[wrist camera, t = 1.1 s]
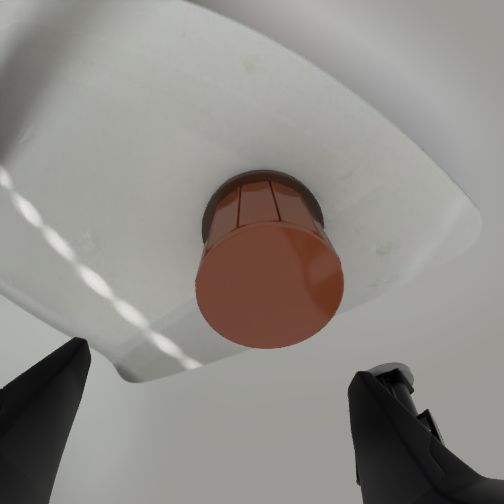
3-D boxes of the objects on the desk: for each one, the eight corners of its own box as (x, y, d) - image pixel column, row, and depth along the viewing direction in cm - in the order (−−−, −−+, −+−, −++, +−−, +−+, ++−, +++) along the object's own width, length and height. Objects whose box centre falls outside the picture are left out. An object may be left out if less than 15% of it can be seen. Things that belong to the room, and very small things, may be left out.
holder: (343, 235, 21) (370, 279, 16) (254, 297, 24) (256, 352, 18) (272, 143, 18) (283, 161, 13) (178, 221, 21) (157, 263, 16)
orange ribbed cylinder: (334, 239, 21) (368, 300, 14) (255, 294, 22) (259, 367, 16) (272, 159, 18) (286, 192, 12) (189, 227, 20) (165, 287, 14)
